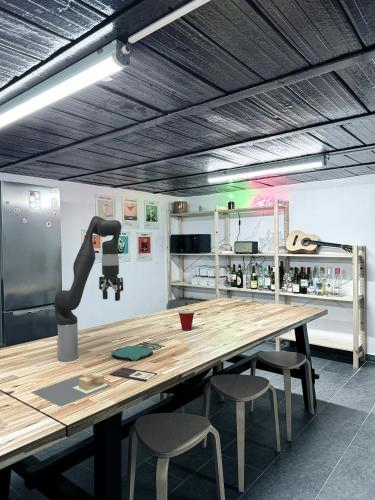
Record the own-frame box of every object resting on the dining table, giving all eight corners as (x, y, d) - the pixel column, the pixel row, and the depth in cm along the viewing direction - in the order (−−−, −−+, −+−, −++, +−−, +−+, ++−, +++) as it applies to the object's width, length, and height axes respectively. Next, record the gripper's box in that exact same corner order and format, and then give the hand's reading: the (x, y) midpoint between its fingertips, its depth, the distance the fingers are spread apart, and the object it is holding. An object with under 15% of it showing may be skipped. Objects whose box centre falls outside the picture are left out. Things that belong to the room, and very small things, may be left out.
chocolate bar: (122, 367, 160) (156, 373, 152) (122, 369, 160) (156, 375, 152) (109, 373, 152) (145, 380, 144) (109, 376, 152) (145, 382, 144)
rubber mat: (30, 393, 134) (30, 391, 134) (81, 376, 151) (81, 374, 151) (60, 408, 122) (60, 406, 122) (111, 387, 139) (111, 385, 139)
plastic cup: (195, 327, 234) (195, 309, 233) (194, 332, 223) (194, 312, 223) (179, 327, 235) (178, 309, 234) (177, 331, 224) (176, 312, 224)
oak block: (96, 381, 143) (95, 372, 143) (104, 384, 140) (103, 374, 140) (78, 387, 137) (78, 378, 137) (86, 390, 134) (86, 381, 134)
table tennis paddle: (103, 357, 176) (103, 352, 176) (141, 343, 202) (141, 339, 202) (135, 364, 166) (135, 359, 166) (171, 348, 191) (171, 344, 191)
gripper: (127, 264, 161) (128, 300, 161) (107, 263, 170) (107, 297, 170) (114, 265, 155) (115, 302, 155) (93, 264, 164) (94, 299, 164)
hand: (111, 300), depth 163 cm, fingers open, 8 cm apart
